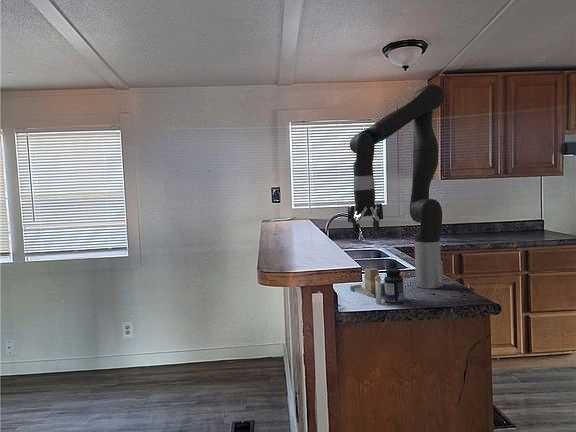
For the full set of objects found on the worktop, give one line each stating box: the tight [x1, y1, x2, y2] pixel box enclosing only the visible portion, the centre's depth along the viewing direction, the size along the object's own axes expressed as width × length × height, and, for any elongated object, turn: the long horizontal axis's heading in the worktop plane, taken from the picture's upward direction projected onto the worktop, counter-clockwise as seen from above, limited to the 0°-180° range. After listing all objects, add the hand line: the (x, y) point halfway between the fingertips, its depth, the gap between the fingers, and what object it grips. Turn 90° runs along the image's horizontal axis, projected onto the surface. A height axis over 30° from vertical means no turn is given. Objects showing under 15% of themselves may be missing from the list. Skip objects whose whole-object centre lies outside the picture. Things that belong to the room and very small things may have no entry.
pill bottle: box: [383, 268, 404, 305], centre depth 150 cm, size 6×6×11 cm
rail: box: [349, 284, 376, 299], centre depth 164 cm, size 4×14×2 cm, turn 25°
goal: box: [375, 271, 406, 305], centre depth 151 cm, size 12×2×9 cm, turn 115°
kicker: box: [363, 267, 385, 298], centre depth 157 cm, size 8×11×8 cm
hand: (366, 232), depth 165 cm, fingers open, 8 cm apart
